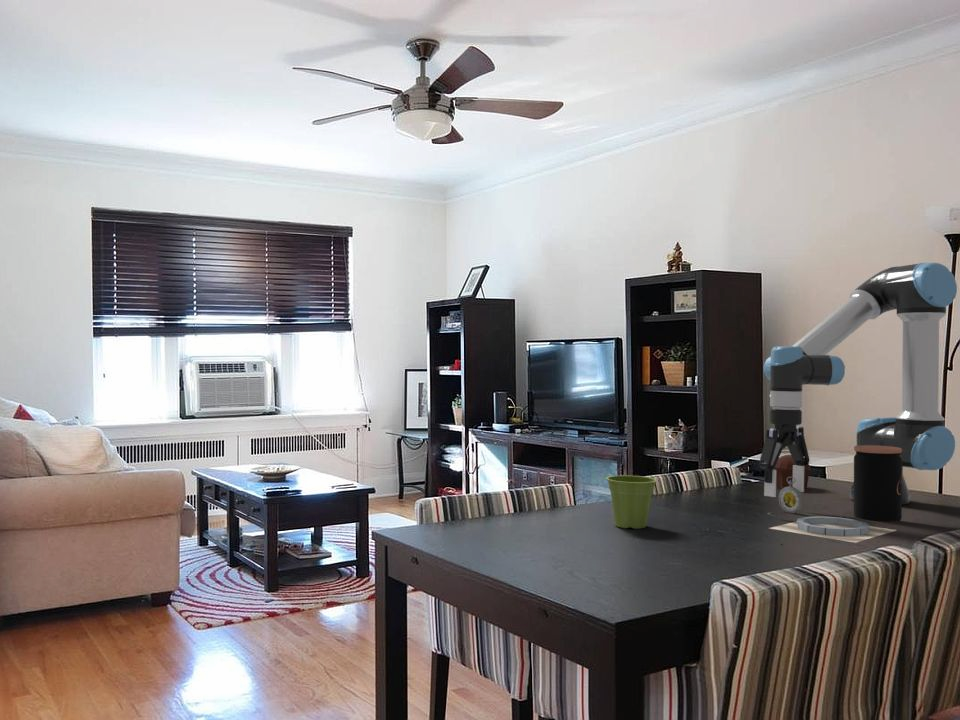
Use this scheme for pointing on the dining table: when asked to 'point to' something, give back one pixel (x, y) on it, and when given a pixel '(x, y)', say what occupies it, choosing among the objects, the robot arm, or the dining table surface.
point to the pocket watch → (790, 498)
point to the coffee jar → (878, 483)
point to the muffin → (788, 472)
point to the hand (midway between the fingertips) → (784, 493)
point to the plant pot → (631, 499)
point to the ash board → (872, 533)
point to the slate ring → (858, 529)
